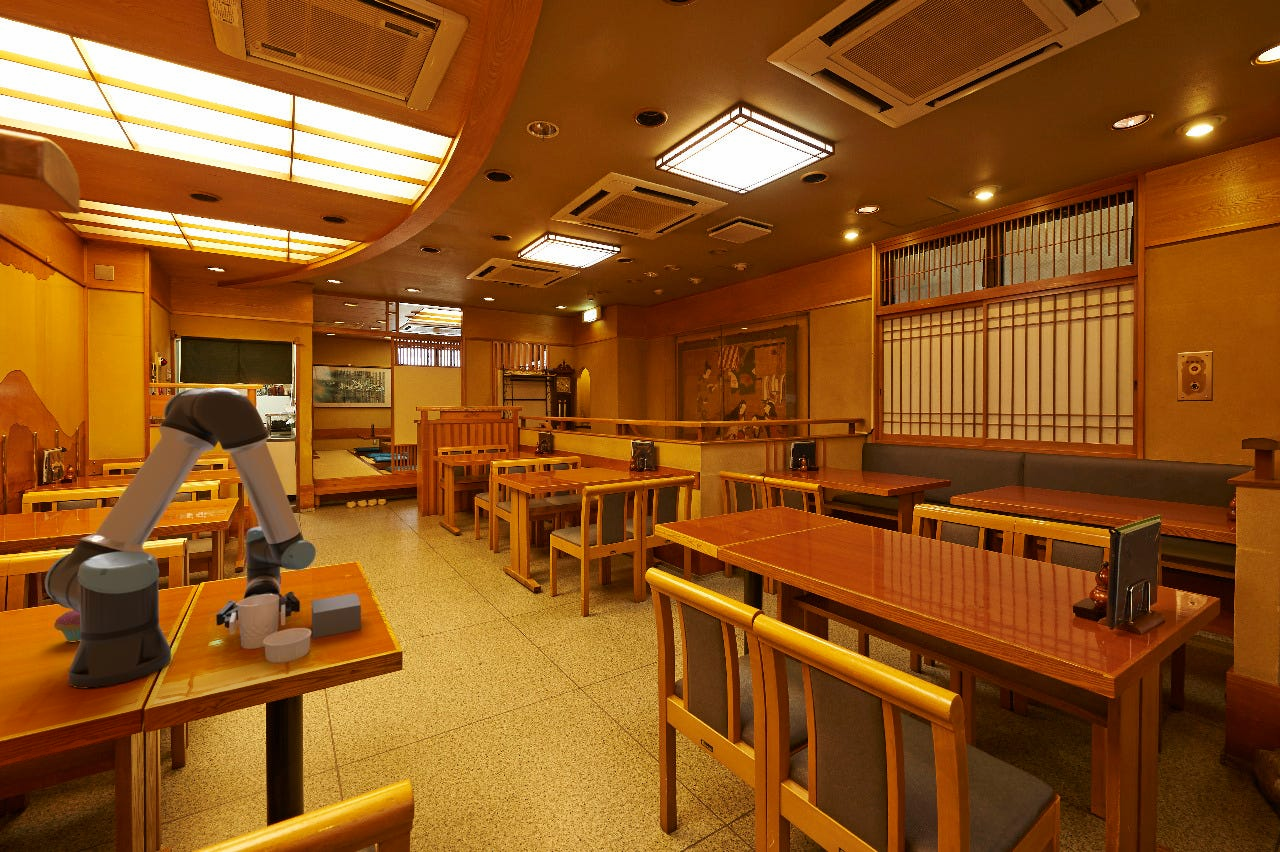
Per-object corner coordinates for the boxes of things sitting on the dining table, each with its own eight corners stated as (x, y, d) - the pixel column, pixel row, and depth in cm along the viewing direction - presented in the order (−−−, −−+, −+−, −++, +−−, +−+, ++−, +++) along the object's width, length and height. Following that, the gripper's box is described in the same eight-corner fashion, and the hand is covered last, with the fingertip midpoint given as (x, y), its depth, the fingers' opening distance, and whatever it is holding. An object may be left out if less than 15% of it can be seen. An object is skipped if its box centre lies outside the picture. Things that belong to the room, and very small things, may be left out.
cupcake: (109, 628, 132) (107, 579, 132) (105, 639, 126) (104, 588, 125) (58, 637, 127) (56, 587, 126) (51, 650, 120) (49, 596, 120)
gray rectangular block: (313, 638, 127) (312, 613, 126) (311, 624, 135) (311, 600, 135) (361, 629, 132) (360, 604, 132) (356, 616, 140) (356, 593, 140)
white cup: (288, 636, 128) (287, 594, 128) (261, 651, 120) (260, 606, 120) (257, 635, 129) (256, 593, 128) (228, 649, 121) (228, 605, 120)
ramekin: (311, 658, 117) (310, 639, 116) (261, 668, 112) (260, 648, 112) (312, 643, 124) (312, 624, 124) (265, 652, 120) (265, 632, 120)
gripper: (311, 601, 145) (314, 629, 126) (209, 617, 134) (196, 651, 115) (310, 573, 145) (313, 597, 126) (209, 587, 133) (195, 616, 114)
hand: (257, 623), depth 120 cm, fingers open, 9 cm apart
